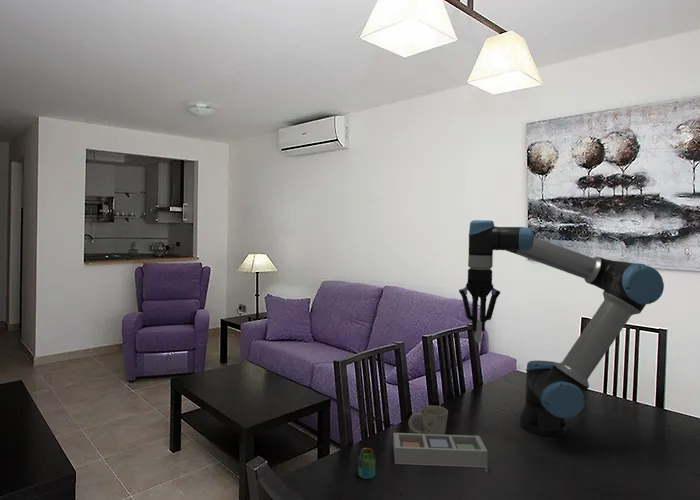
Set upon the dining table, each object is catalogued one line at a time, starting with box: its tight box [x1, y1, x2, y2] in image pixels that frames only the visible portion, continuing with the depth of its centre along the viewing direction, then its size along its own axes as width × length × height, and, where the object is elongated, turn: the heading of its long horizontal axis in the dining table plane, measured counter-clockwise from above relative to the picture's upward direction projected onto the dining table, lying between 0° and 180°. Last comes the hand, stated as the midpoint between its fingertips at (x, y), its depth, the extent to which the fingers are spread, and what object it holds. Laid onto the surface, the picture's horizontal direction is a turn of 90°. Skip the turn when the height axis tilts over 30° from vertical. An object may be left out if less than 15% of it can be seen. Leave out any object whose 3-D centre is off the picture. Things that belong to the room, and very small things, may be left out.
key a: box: [456, 444, 475, 449], centre depth 137 cm, size 5×5×2 cm
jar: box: [357, 447, 377, 480], centre depth 127 cm, size 5×5×8 cm
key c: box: [402, 442, 420, 447], centre depth 138 cm, size 5×5×2 cm
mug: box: [407, 405, 449, 435], centre depth 151 cm, size 8×13×10 cm, turn 78°
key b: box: [429, 439, 449, 448], centre depth 138 cm, size 5×5×2 cm
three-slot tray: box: [392, 432, 489, 473], centre depth 138 cm, size 26×11×6 cm, turn 88°
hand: (477, 341), depth 151 cm, fingers closed
